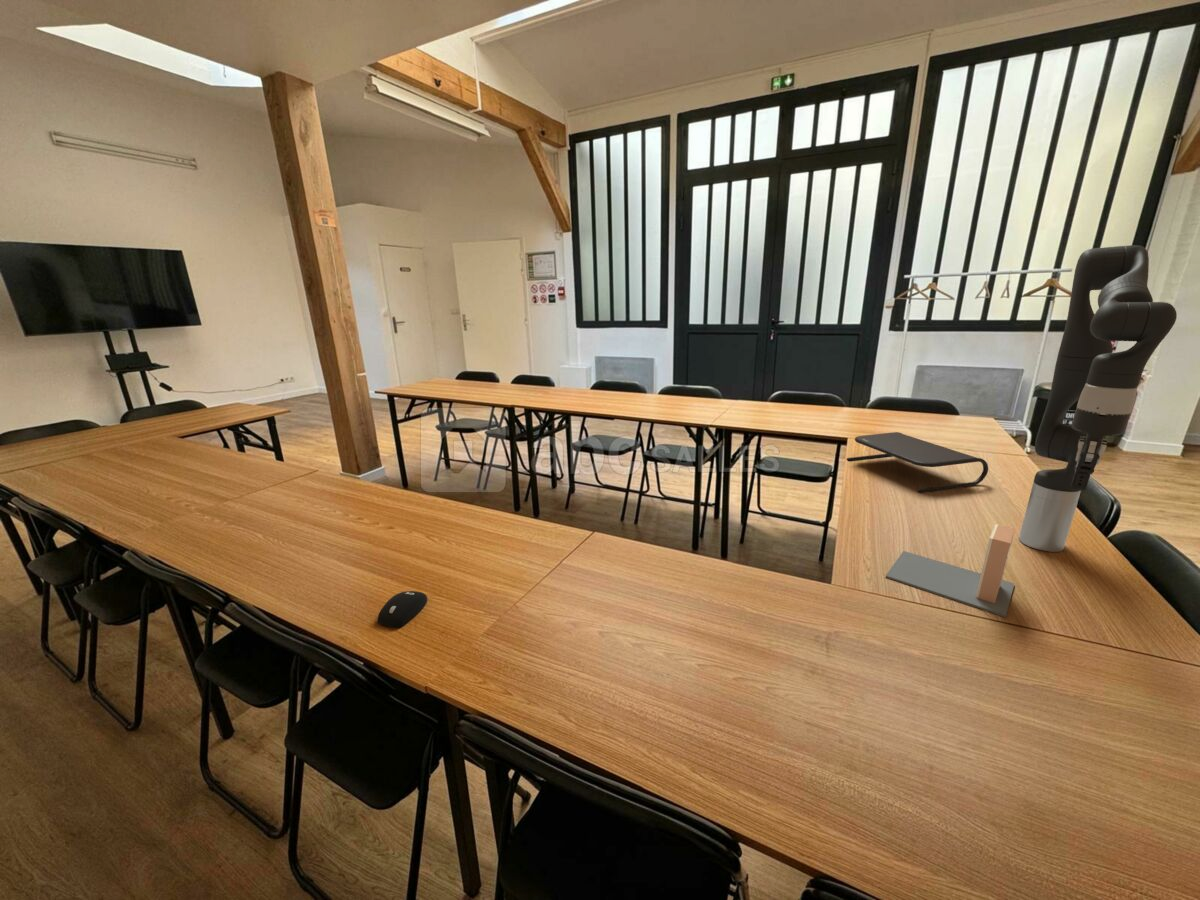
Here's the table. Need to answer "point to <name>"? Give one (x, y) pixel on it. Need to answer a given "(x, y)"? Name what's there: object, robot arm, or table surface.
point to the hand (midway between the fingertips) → (1077, 488)
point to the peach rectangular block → (995, 563)
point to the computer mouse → (401, 608)
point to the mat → (947, 581)
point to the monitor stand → (918, 454)
